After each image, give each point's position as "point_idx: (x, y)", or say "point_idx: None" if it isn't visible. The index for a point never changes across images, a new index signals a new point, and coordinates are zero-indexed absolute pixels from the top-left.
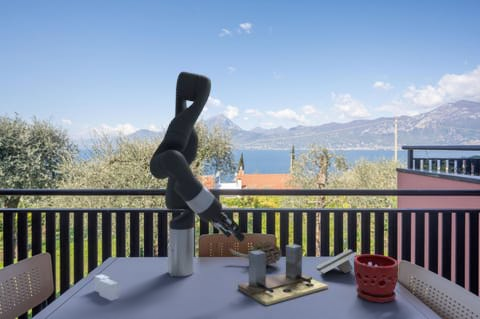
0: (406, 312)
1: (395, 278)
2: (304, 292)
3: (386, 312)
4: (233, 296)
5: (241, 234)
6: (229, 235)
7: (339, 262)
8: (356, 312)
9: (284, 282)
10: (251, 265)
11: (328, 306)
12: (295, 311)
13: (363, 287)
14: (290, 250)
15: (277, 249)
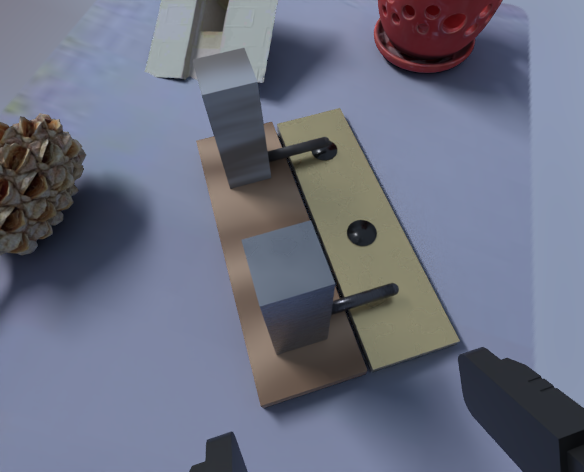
0: (518, 37)
1: None
2: (379, 186)
3: (517, 68)
4: (340, 454)
5: (557, 394)
6: (244, 469)
7: (251, 16)
8: (517, 121)
9: (292, 214)
10: (292, 322)
11: (474, 164)
12: (509, 264)
13: (455, 46)
14: (239, 100)
15: (58, 128)
